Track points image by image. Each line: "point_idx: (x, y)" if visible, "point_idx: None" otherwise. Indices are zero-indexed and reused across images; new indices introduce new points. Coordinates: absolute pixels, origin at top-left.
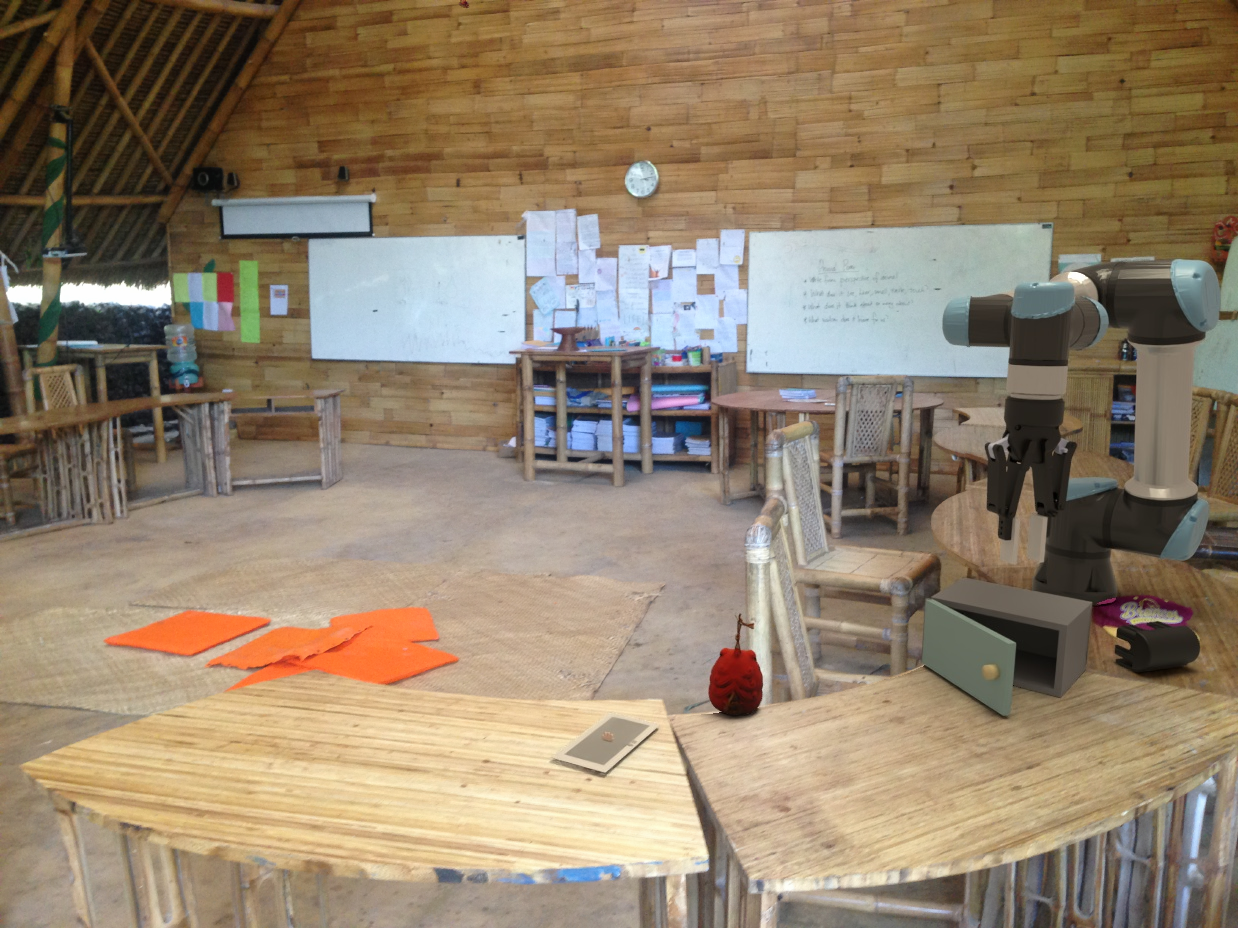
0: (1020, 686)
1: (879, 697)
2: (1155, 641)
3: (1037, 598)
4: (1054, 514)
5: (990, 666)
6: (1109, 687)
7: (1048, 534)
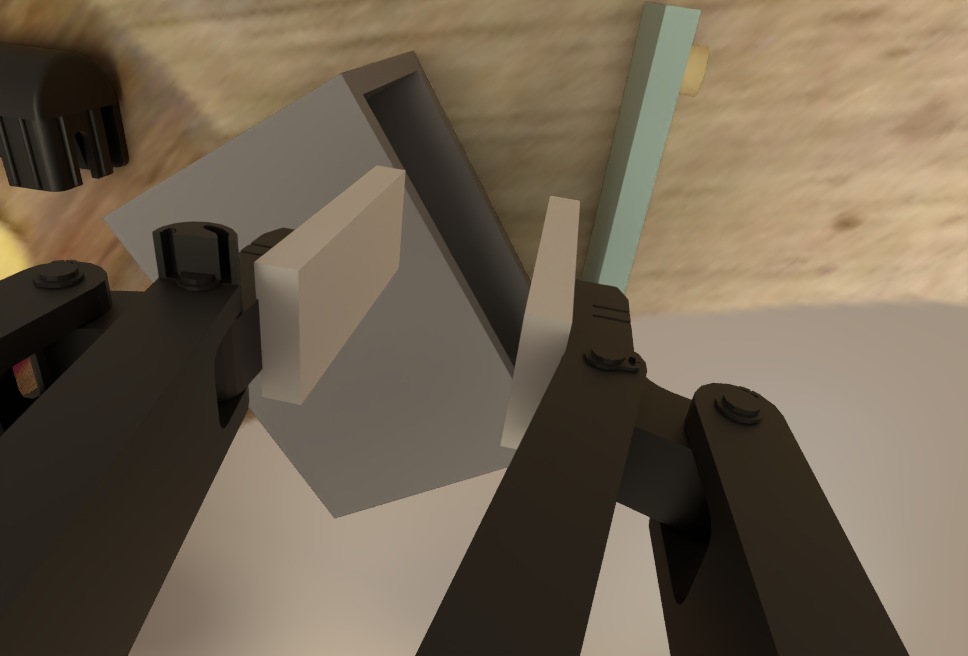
0: (461, 146)
1: (840, 248)
2: (15, 68)
3: None
4: (198, 233)
5: (697, 65)
6: (244, 49)
7: (274, 233)
